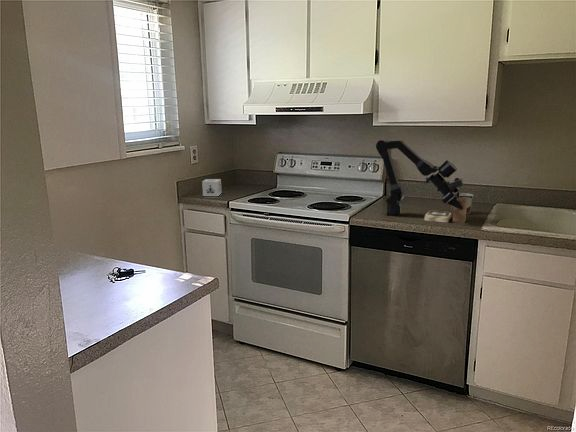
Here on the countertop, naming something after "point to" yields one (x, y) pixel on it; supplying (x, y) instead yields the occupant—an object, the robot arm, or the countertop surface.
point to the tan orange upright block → (460, 211)
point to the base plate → (438, 216)
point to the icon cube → (211, 187)
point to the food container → (469, 201)
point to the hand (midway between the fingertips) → (463, 207)
